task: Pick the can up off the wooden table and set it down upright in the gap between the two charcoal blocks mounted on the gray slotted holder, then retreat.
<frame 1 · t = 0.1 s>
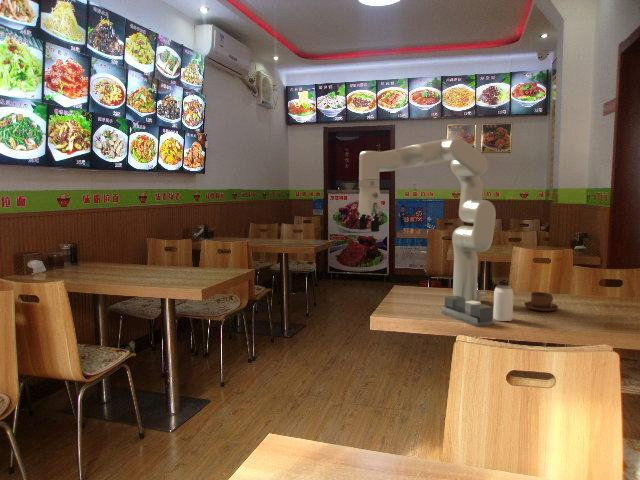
hand: (368, 230, 188), 31 cm above the table, fingers open, 9 cm apart
can: (502, 320, 180), on the table
gray slotted holder: (466, 318, 181), on the table
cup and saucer: (540, 310, 195), on the table
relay: (472, 312, 191), on the table
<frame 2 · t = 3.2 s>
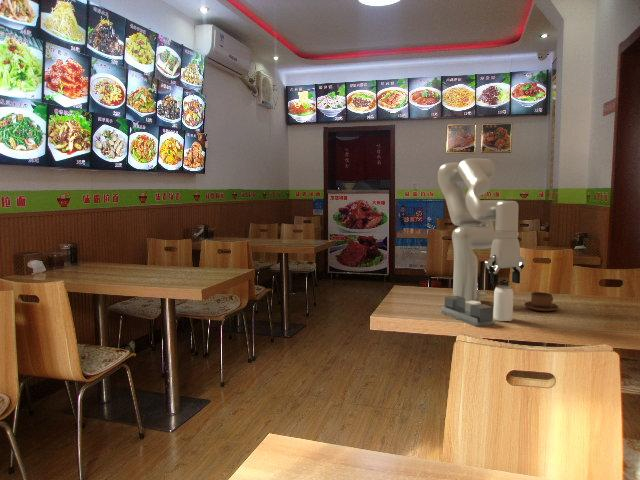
hand: (505, 283, 178), 13 cm above the table, fingers open, 9 cm apart
nothing on the table moved.
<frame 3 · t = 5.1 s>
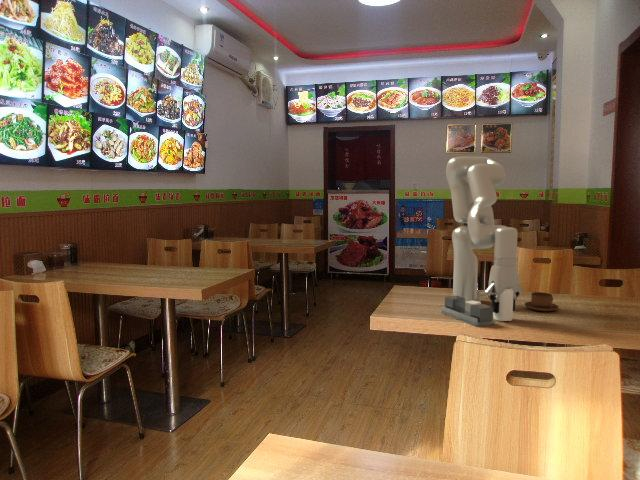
hand: (503, 310, 179), 3 cm above the table, fingers closed on can, 6 cm apart
can: (502, 320, 180), on the table, touching gripper
everything else where it was.
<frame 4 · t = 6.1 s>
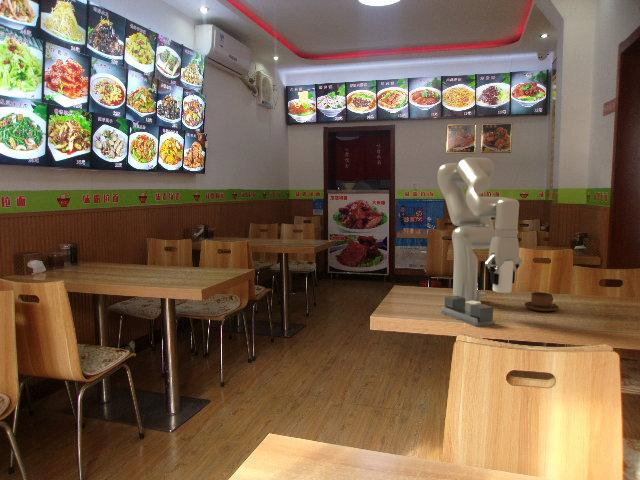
hand: (502, 282, 179), 13 cm above the table, fingers closed on can, 6 cm apart
can: (501, 292, 180), point 10 cm above the table, touching gripper
everything else where it was.
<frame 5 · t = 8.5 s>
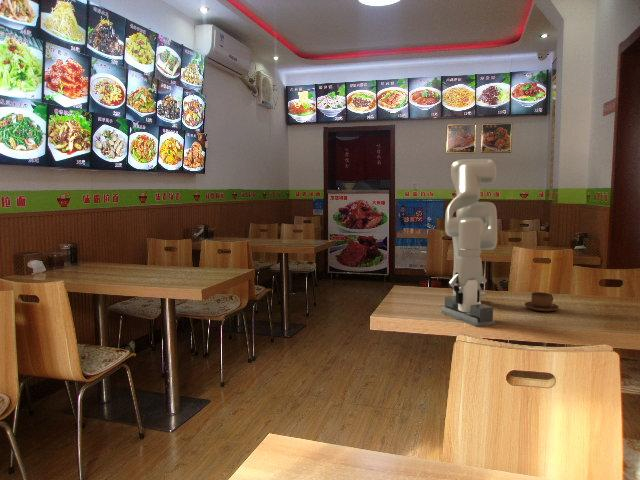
hand: (467, 302, 181), 6 cm above the table, fingers closed on can, 6 cm apart
can: (467, 311, 181), point 3 cm above the table, touching gripper
everything else where it was.
when the fingers open (6 cm above the table, at t = 9.3 s): can drops 1 cm, resting on gray slotted holder.
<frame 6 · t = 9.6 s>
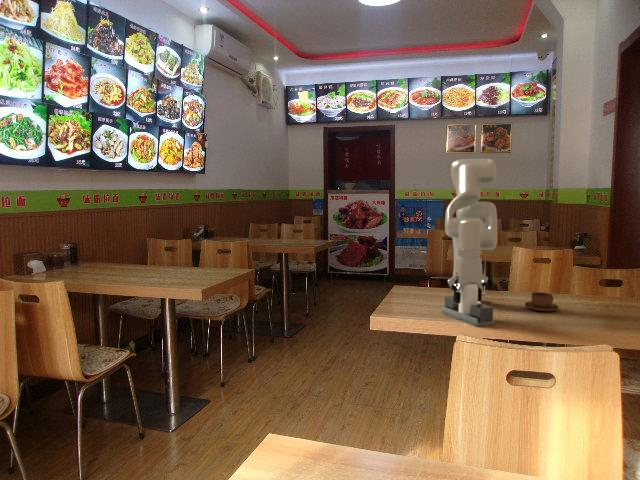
hand: (467, 301, 181), 6 cm above the table, fingers open, 8 cm apart
can: (467, 315, 181), point 1 cm above the table, touching gray slotted holder
everything else where it was.
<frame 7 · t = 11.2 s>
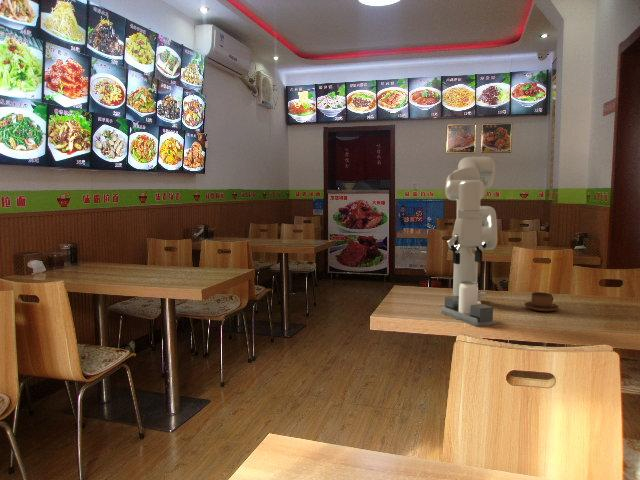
hand: (467, 262, 180), 20 cm above the table, fingers open, 9 cm apart
nothing on the table moved.
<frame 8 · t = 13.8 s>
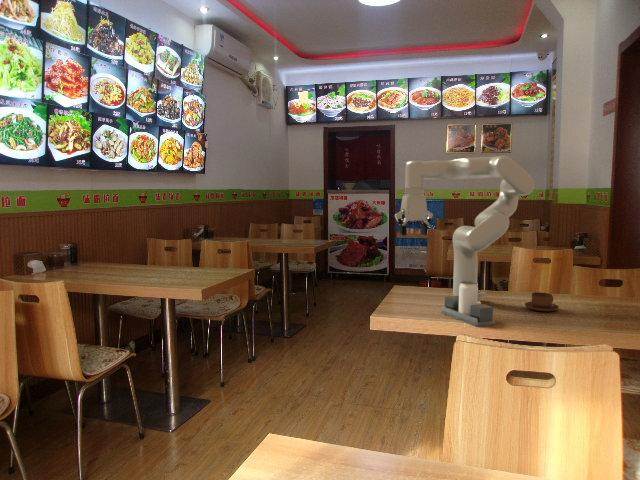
hand: (413, 234, 201), 28 cm above the table, fingers open, 9 cm apart
nothing on the table moved.
at the end: can inside the target area on the gray slotted holder (0.3 cm from its centre), point 1.0 cm above the gray slotted holder's base; can tilted 0°; the gripper is holding nothing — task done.
